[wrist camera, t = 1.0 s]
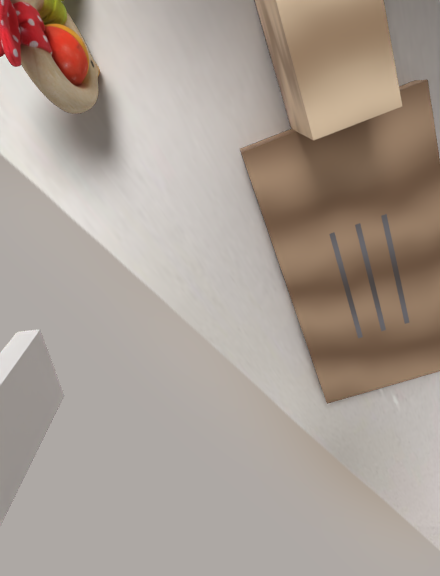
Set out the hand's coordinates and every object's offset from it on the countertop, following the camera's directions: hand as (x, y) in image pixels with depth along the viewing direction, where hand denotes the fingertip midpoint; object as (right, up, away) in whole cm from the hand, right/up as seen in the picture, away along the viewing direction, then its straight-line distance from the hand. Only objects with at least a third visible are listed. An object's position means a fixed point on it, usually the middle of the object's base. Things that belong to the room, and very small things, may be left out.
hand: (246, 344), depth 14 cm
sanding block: (+5, +18, +15) cm, 24 cm away
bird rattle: (-11, +19, +15) cm, 26 cm away
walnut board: (+11, +4, +22) cm, 25 cm away
